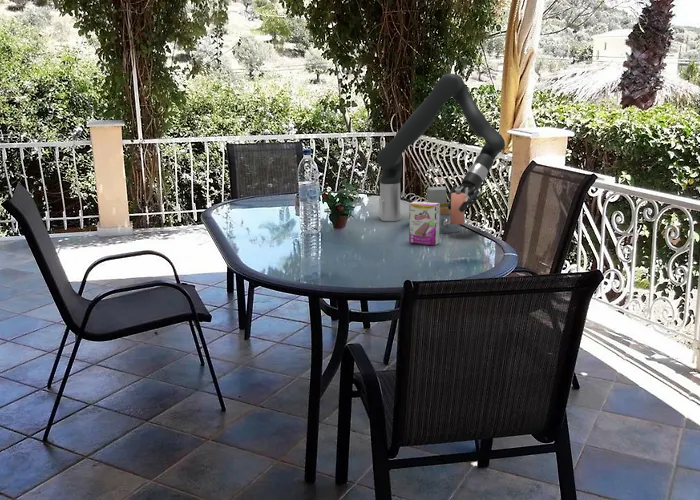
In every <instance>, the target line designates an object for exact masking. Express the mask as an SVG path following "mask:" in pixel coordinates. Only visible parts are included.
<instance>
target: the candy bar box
mask: <svg viewBox="0 0 700 500" xmlns="http://www.w3.org/2000/svg"><path fill="white" fill-rule="evenodd" d="M439 215H440V203H429V202H428V201H415V200H413V201H412V202H410V203H409V217H408V218H409V219H408V220H409V224H408V225H409V226H408V227H409V230H408V231H409V237H408V239H409V241H408V243H409V244H414V245H415V244H416V245H423V246H432V247H433V246H437V245H438V244H439V243H440V233H439Z"/></svg>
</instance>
